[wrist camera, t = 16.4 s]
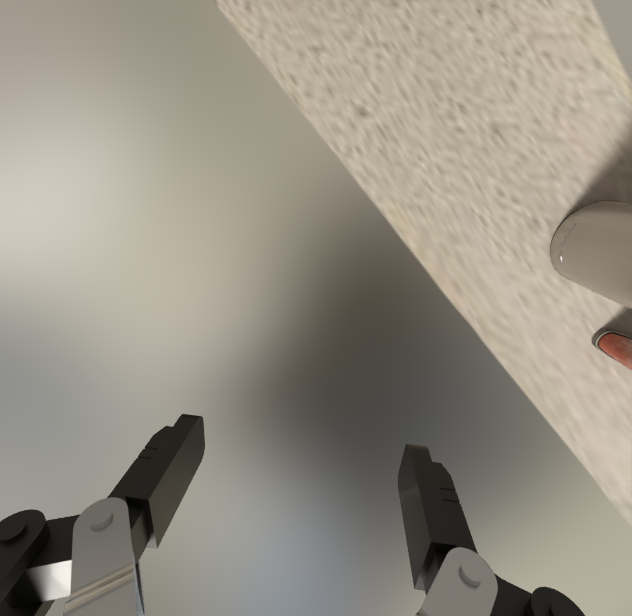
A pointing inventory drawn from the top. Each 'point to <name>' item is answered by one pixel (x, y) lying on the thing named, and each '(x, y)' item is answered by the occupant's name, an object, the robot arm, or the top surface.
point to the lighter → (614, 345)
